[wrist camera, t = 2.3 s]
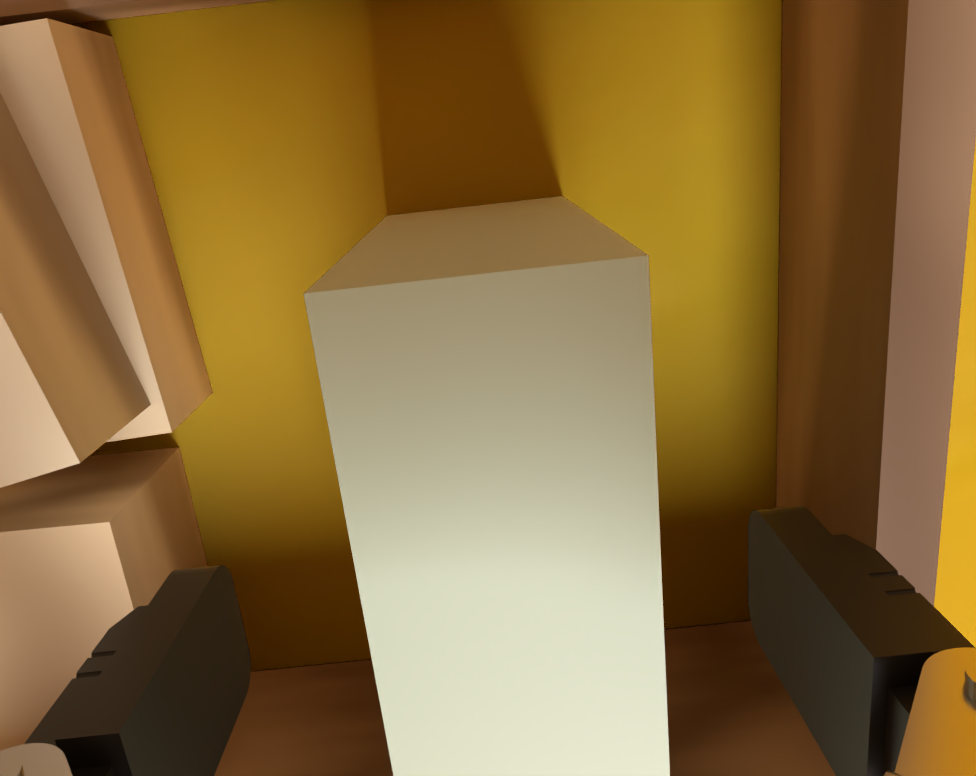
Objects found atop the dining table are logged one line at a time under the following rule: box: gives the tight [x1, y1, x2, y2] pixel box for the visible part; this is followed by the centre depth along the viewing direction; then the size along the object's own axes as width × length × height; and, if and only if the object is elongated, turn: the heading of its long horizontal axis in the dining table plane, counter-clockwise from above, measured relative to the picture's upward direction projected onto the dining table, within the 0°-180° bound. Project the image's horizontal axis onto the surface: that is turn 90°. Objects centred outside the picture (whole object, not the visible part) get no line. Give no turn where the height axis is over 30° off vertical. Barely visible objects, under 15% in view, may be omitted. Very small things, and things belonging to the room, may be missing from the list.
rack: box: [0, 0, 976, 776], centre depth 15 cm, size 24×19×8 cm
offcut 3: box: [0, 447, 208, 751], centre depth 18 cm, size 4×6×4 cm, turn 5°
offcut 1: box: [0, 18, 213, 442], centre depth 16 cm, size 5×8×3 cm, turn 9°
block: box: [304, 196, 670, 776], centre depth 15 cm, size 4×10×9 cm, turn 6°
